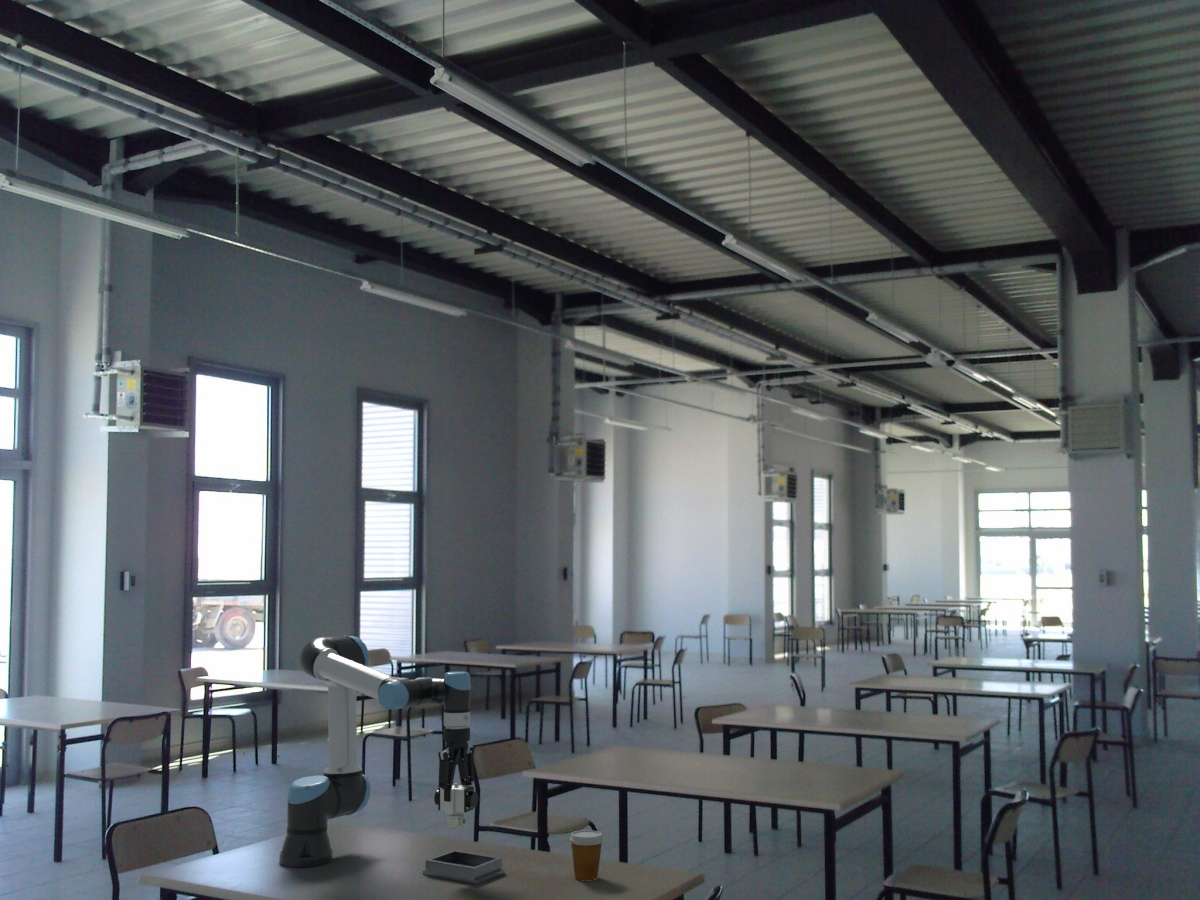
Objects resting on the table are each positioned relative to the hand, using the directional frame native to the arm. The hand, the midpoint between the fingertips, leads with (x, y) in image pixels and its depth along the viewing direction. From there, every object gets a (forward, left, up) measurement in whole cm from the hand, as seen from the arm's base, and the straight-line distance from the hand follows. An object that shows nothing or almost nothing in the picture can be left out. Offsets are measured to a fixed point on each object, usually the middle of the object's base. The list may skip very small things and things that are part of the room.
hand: (456, 810), depth 302 cm
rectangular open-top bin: (+1, +3, -18) cm, 18 cm away
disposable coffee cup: (+33, +17, -18) cm, 41 cm away
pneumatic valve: (0, 0, -5) cm, 5 cm away
